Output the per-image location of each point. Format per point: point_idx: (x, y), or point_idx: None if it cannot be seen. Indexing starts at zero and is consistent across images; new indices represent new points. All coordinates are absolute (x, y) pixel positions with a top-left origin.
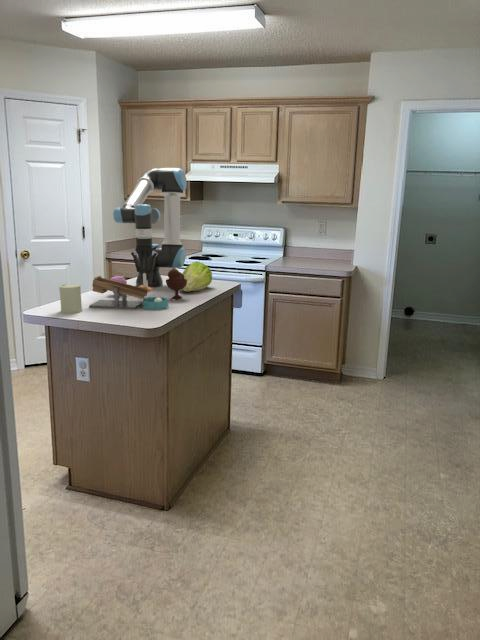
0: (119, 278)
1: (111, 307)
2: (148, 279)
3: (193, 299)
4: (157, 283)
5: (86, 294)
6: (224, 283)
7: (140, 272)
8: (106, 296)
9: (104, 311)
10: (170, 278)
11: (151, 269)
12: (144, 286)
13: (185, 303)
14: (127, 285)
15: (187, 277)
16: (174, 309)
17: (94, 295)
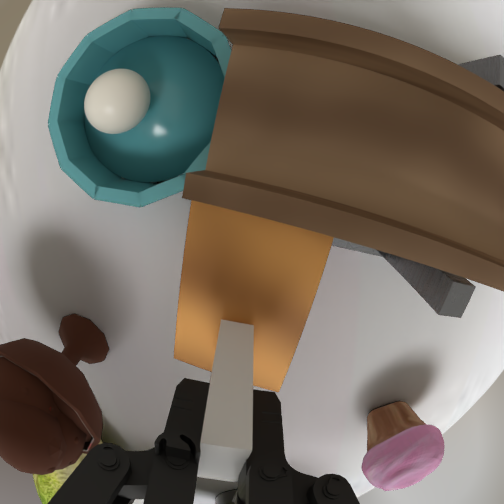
0: (409, 467)
1: None
2: (180, 382)
3: (17, 308)
4: (228, 501)
5: (483, 391)
6: None
7: (291, 474)
8: (439, 379)
9: (455, 34)
10: (39, 409)
11: (82, 477)
12: (240, 327)
13: (17, 220)
14: (432, 239)
15: (70, 472)
16: (50, 64)
17: (469, 385)
